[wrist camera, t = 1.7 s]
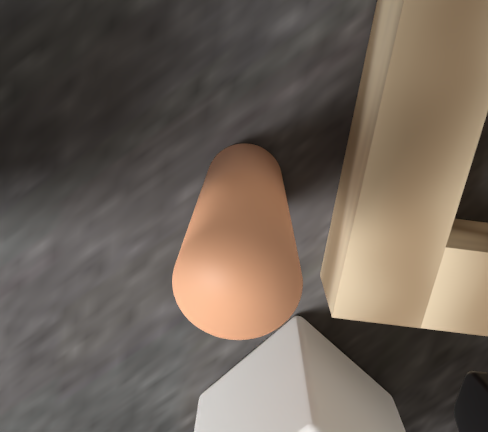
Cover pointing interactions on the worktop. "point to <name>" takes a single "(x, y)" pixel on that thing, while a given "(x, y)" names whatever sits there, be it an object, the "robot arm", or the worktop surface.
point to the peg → (239, 249)
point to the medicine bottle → (297, 390)
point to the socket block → (413, 174)
